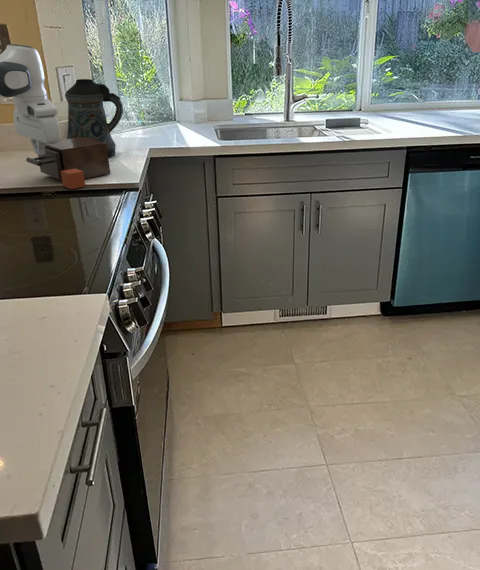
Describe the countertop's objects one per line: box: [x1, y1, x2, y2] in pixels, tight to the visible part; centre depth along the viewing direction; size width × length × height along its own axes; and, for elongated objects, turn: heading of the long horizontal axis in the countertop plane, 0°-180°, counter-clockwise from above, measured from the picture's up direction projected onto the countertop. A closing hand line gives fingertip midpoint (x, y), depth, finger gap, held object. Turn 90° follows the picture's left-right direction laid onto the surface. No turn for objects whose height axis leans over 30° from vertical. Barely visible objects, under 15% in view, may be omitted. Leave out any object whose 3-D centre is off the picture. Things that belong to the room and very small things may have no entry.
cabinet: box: [45, 137, 111, 181], centre depth 182 cm, size 15×13×10 cm
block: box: [61, 169, 86, 190], centre depth 171 cm, size 4×4×4 cm
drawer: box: [25, 147, 63, 180], centre depth 179 cm, size 18×11×8 cm, turn 139°
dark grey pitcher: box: [64, 78, 124, 159], centre depth 202 cm, size 16×19×25 cm
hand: (40, 154), depth 173 cm, fingers closed
